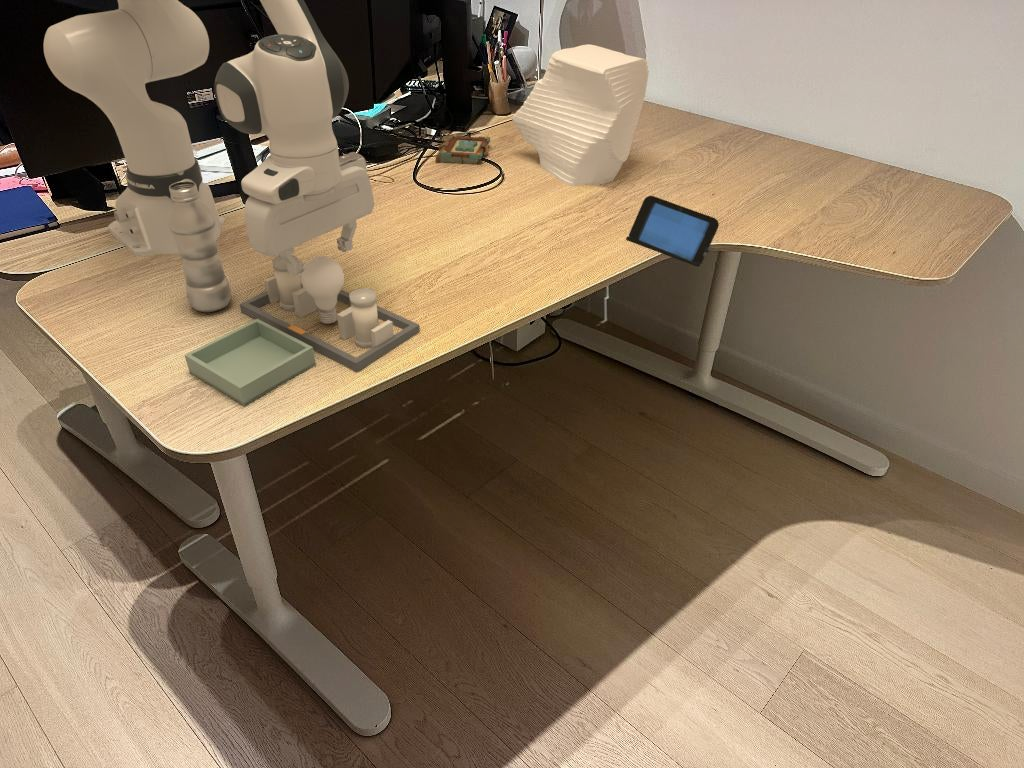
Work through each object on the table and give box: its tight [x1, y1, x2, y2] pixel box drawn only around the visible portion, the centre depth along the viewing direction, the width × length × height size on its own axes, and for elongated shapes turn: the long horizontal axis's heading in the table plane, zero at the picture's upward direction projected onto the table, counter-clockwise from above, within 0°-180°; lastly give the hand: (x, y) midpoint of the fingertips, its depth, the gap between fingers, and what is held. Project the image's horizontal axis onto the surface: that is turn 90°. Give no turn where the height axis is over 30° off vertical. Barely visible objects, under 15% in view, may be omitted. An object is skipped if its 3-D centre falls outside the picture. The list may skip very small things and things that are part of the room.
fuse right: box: [349, 287, 380, 349], centre depth 109 cm, size 4×4×8 cm
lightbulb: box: [300, 255, 345, 325], centre depth 112 cm, size 6×6×11 cm
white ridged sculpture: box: [511, 43, 649, 187], centre depth 161 cm, size 21×27×26 cm
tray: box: [184, 319, 317, 407], centre depth 105 cm, size 12×12×3 cm
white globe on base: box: [271, 254, 303, 312], centre depth 117 cm, size 4×4×8 cm
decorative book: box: [434, 133, 491, 165], centre depth 171 cm, size 13×18×5 cm
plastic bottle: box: [168, 181, 232, 313], centre depth 113 cm, size 6×7×20 cm
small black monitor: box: [625, 195, 720, 268], centre depth 131 cm, size 16×13×9 cm
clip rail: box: [239, 274, 421, 373], centre depth 115 cm, size 26×13×4 cm, turn 53°
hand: (321, 261), depth 109 cm, fingers open, 8 cm apart
